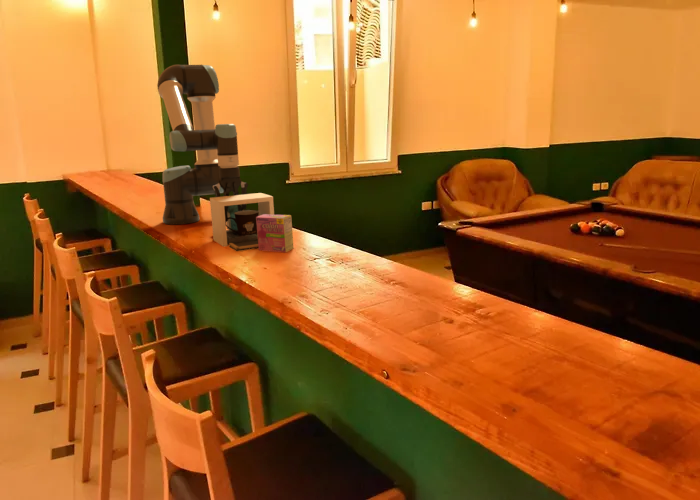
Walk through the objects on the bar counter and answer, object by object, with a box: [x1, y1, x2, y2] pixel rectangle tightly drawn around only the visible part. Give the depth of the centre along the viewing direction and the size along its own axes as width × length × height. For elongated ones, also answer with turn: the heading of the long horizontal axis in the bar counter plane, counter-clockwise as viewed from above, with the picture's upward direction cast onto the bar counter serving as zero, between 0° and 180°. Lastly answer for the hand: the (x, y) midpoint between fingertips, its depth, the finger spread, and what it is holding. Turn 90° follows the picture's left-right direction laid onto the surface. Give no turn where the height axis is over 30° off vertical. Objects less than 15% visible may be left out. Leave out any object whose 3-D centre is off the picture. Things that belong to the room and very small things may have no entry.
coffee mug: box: [225, 209, 259, 236], centre depth 201 cm, size 12×9×10 cm
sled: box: [226, 205, 258, 246], centre depth 204 cm, size 20×15×13 cm
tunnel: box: [209, 192, 275, 247], centre depth 201 cm, size 12×19×16 cm, turn 119°
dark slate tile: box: [228, 241, 259, 252], centre depth 193 cm, size 8×16×1 cm, turn 119°
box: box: [256, 214, 294, 253], centre depth 186 cm, size 10×6×12 cm, turn 68°
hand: (233, 228), depth 212 cm, fingers closed on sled, 3 cm apart
